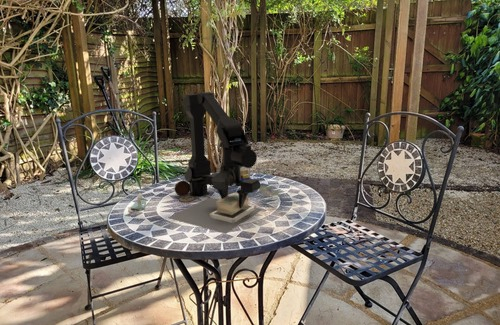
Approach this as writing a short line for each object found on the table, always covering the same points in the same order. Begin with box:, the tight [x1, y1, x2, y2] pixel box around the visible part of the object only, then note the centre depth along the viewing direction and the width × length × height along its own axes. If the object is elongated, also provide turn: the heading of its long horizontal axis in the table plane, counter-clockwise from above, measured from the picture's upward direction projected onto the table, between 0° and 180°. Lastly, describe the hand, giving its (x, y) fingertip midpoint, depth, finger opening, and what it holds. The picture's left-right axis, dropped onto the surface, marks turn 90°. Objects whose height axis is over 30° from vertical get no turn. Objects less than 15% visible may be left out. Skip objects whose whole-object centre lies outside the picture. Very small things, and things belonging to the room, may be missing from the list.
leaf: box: [259, 185, 279, 199], centre depth 134 cm, size 20×8×1 cm, turn 2°
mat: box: [167, 197, 264, 234], centre depth 117 cm, size 24×22×2 cm
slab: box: [217, 192, 249, 215], centre depth 116 cm, size 10×6×4 cm, turn 148°
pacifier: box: [127, 192, 147, 213], centre depth 123 cm, size 7×6×6 cm
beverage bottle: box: [231, 140, 251, 181], centre depth 150 cm, size 8×8×20 cm
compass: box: [174, 180, 200, 203], centre depth 131 cm, size 8×8×7 cm
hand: (233, 206), depth 116 cm, fingers closed on slab, 6 cm apart
